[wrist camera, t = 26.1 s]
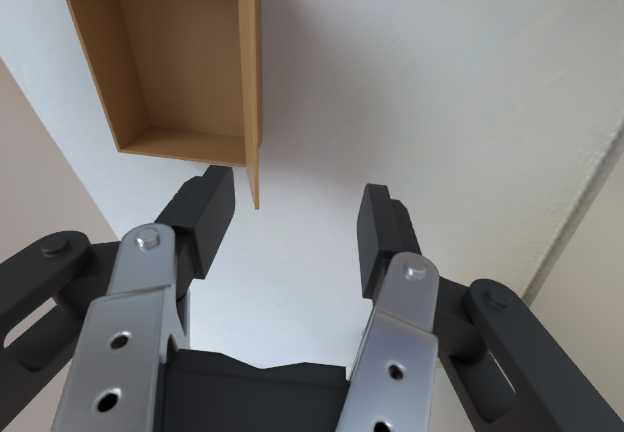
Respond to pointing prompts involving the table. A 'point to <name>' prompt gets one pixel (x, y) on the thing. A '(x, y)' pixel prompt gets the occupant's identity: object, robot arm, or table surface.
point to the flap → (249, 92)
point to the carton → (170, 75)
